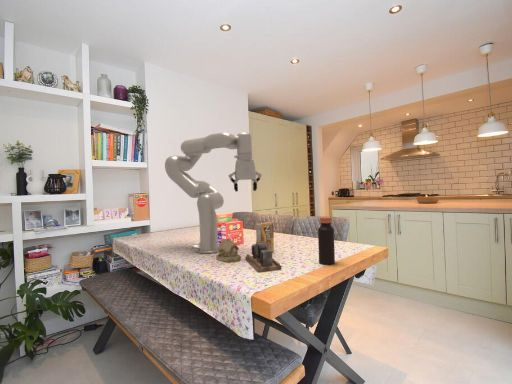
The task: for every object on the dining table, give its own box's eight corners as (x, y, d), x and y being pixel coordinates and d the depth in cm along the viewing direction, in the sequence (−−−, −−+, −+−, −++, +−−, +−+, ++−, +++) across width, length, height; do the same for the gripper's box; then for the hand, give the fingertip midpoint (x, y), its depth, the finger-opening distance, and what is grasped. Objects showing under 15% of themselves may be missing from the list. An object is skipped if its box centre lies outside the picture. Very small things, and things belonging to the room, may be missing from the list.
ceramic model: (211, 258, 134) (211, 238, 133) (230, 254, 141) (230, 235, 140) (227, 264, 123) (226, 242, 122) (247, 259, 130) (246, 238, 129)
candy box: (269, 250, 145) (268, 221, 145) (274, 251, 142) (273, 222, 142) (256, 253, 140) (255, 223, 139) (261, 254, 137) (260, 224, 136)
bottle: (327, 266, 115) (326, 219, 114) (315, 262, 120) (314, 217, 120) (338, 262, 119) (336, 217, 118) (325, 259, 124) (324, 216, 124)
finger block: (259, 263, 117) (258, 244, 117) (255, 259, 123) (254, 242, 122) (269, 262, 118) (268, 243, 118) (264, 258, 124) (264, 241, 124)
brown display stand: (258, 272, 109) (257, 254, 109) (245, 259, 129) (245, 244, 128) (281, 269, 112) (280, 251, 112) (265, 257, 131) (265, 242, 131)
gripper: (229, 156, 133) (230, 191, 133) (262, 156, 138) (264, 190, 138) (226, 158, 140) (227, 191, 141) (258, 158, 145) (259, 190, 145)
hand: (245, 191), depth 139 cm, fingers open, 9 cm apart
